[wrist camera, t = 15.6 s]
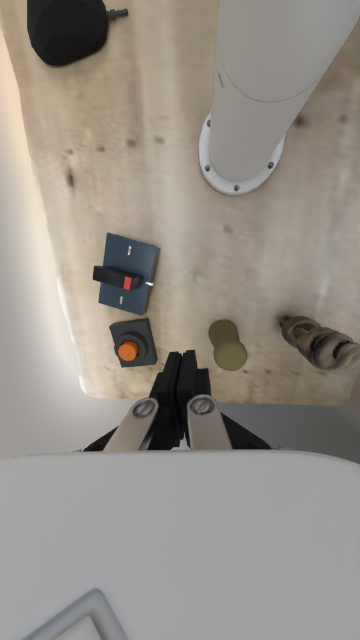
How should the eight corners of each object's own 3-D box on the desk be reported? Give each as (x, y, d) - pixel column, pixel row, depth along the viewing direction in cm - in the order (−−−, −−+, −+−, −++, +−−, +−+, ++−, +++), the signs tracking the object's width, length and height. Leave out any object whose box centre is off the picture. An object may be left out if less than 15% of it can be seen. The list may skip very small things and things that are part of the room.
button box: (113, 323, 39) (104, 329, 35) (148, 318, 38) (142, 324, 34) (125, 362, 42) (117, 372, 38) (157, 359, 41) (153, 369, 37)
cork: (235, 347, 38) (248, 379, 27) (206, 344, 38) (209, 374, 28) (240, 321, 36) (256, 344, 25) (210, 317, 36) (214, 339, 26)
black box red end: (107, 277, 33) (91, 279, 28) (109, 265, 32) (93, 265, 27) (140, 287, 33) (130, 291, 28) (143, 275, 32) (132, 277, 27)
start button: (120, 341, 36) (116, 345, 35) (136, 339, 36) (133, 343, 34) (124, 357, 37) (120, 361, 36) (140, 355, 37) (137, 360, 35)
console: (110, 233, 34) (101, 230, 31) (164, 249, 33) (160, 248, 30) (102, 298, 38) (93, 301, 35) (150, 312, 37) (145, 317, 34)
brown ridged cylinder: (305, 310, 34) (382, 344, 20) (296, 336, 36) (360, 385, 21) (275, 306, 34) (329, 336, 20) (267, 332, 36) (312, 377, 22)
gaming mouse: (133, 45, 25) (121, 6, 22) (42, 74, 28) (17, 43, 24) (123, -21, 24) (108, -75, 20) (27, 15, 26) (-2, -27, 22)
